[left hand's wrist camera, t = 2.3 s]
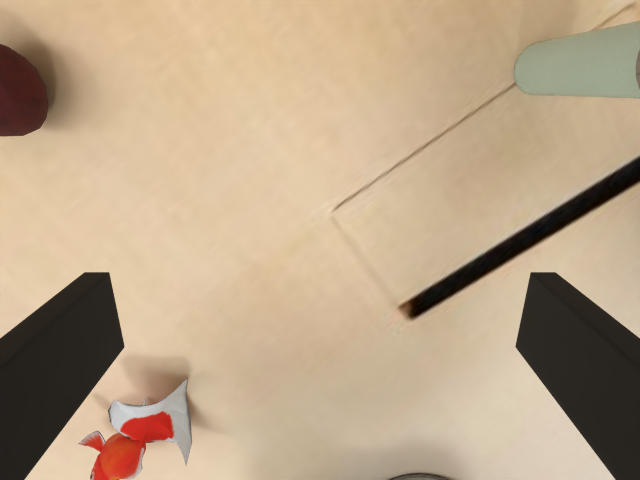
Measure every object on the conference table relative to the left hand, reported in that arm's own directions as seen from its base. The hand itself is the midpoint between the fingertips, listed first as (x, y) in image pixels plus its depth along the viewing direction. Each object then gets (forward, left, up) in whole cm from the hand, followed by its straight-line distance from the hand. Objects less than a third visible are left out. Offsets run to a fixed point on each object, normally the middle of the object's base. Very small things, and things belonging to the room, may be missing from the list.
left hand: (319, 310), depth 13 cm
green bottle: (+8, -20, -28) cm, 35 cm away
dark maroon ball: (+6, +27, -28) cm, 39 cm away
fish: (-30, +21, -28) cm, 46 cm away
